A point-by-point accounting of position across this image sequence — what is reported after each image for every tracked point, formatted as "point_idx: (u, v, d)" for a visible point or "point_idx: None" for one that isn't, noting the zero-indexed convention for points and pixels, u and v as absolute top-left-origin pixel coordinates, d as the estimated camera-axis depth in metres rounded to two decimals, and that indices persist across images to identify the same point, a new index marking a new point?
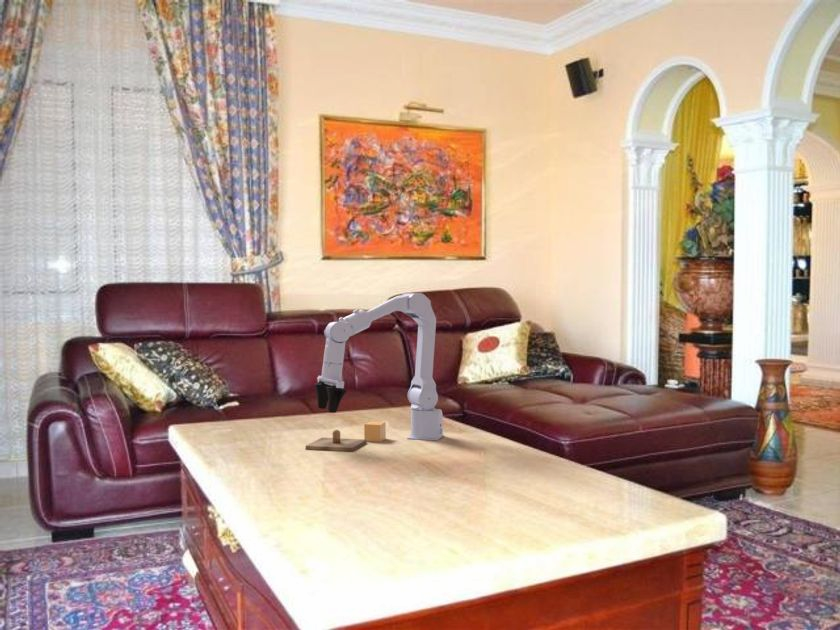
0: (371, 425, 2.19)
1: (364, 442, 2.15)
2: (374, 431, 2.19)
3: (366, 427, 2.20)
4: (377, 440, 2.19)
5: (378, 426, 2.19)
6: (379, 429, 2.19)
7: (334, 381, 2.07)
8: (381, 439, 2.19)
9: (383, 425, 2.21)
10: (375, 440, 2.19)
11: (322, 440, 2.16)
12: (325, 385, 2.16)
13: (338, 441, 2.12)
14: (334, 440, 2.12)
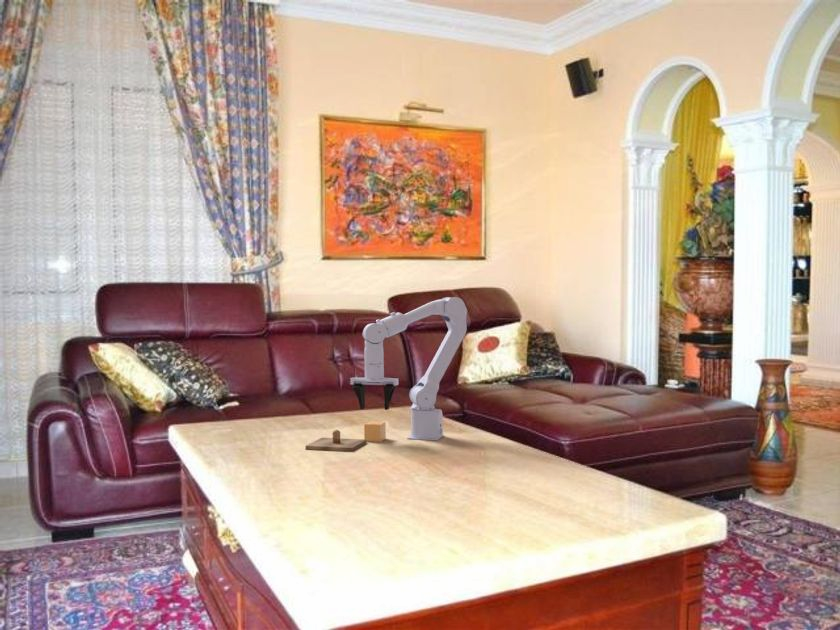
0: (371, 425, 2.19)
1: (364, 442, 2.15)
2: (374, 431, 2.19)
3: (366, 427, 2.20)
4: (377, 440, 2.19)
5: (378, 426, 2.19)
6: (379, 429, 2.19)
7: (390, 380, 2.18)
8: (381, 439, 2.19)
9: (383, 425, 2.21)
10: (375, 440, 2.19)
11: (322, 440, 2.16)
12: (362, 386, 2.22)
13: (338, 441, 2.12)
14: (334, 440, 2.12)
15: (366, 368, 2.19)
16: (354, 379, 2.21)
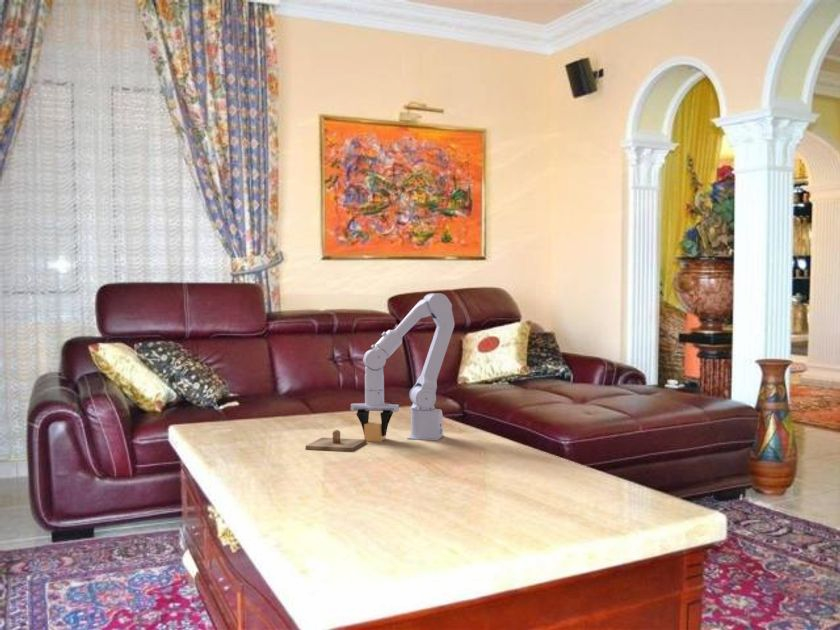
0: (371, 425, 2.19)
1: (364, 442, 2.15)
2: (374, 431, 2.19)
3: (366, 427, 2.20)
4: (377, 440, 2.19)
5: (378, 426, 2.19)
6: (379, 429, 2.19)
7: (390, 406, 2.19)
8: (381, 439, 2.19)
9: None
10: (375, 440, 2.19)
11: (322, 440, 2.16)
12: (366, 412, 2.22)
13: (338, 441, 2.12)
14: (334, 440, 2.12)
15: (366, 394, 2.19)
16: (354, 405, 2.22)
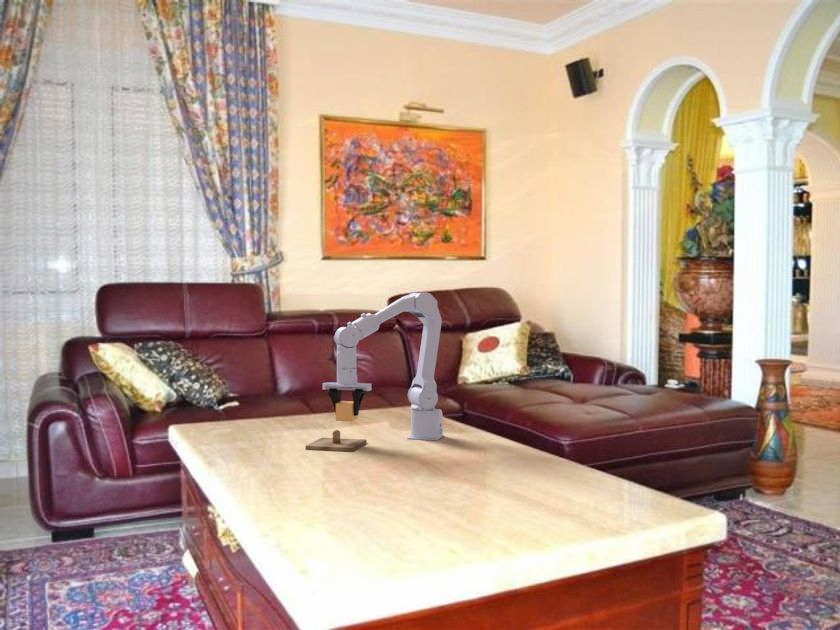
0: (343, 404, 2.13)
1: (364, 442, 2.15)
2: (346, 410, 2.13)
3: (338, 406, 2.13)
4: (349, 420, 2.12)
5: (350, 405, 2.12)
6: (351, 408, 2.12)
7: (363, 385, 2.12)
8: (353, 419, 2.13)
9: None
10: (347, 420, 2.13)
11: (322, 440, 2.16)
12: (338, 391, 2.16)
13: (338, 441, 2.12)
14: (334, 440, 2.12)
15: (338, 373, 2.13)
16: (326, 384, 2.15)
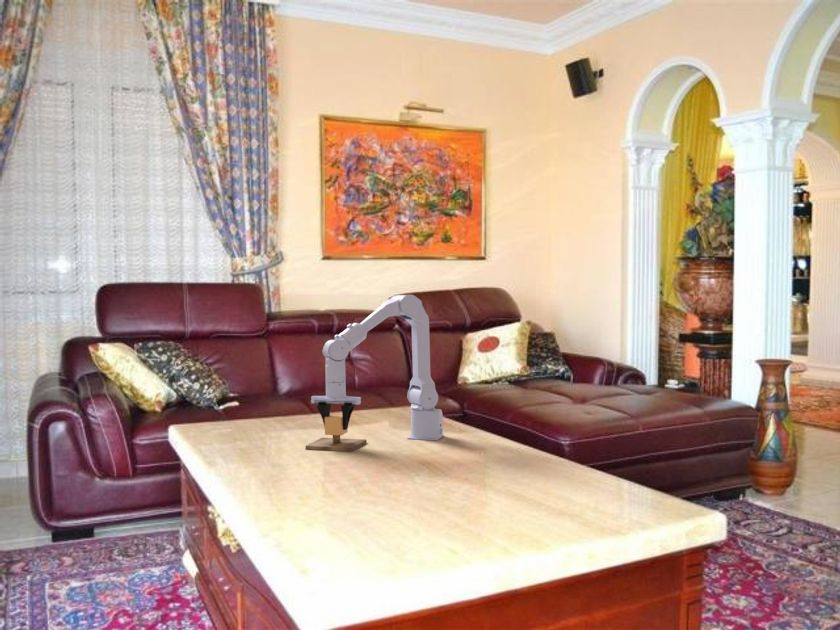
0: (332, 418, 2.10)
1: (364, 442, 2.15)
2: (335, 424, 2.10)
3: (327, 420, 2.11)
4: (338, 434, 2.10)
5: (339, 419, 2.10)
6: (340, 422, 2.10)
7: (352, 399, 2.10)
8: (342, 433, 2.11)
9: None
10: (336, 434, 2.10)
11: (322, 440, 2.16)
12: (327, 404, 2.14)
13: (338, 441, 2.12)
14: (334, 440, 2.12)
15: (327, 386, 2.11)
16: (315, 398, 2.13)
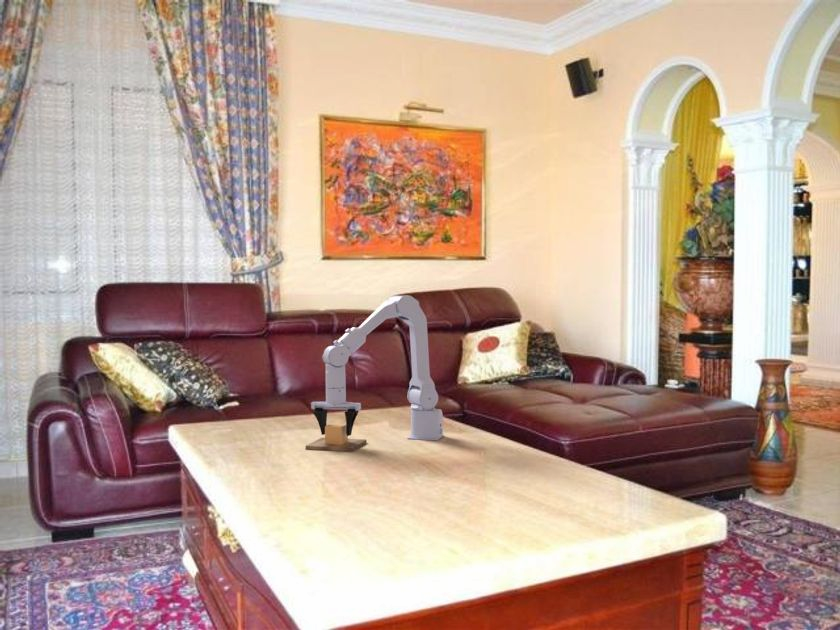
0: (332, 427, 2.11)
1: (364, 442, 2.15)
2: (335, 434, 2.10)
3: (327, 429, 2.11)
4: (338, 443, 2.10)
5: (339, 428, 2.10)
6: (340, 431, 2.10)
7: (352, 405, 2.10)
8: (342, 442, 2.11)
9: (345, 427, 2.13)
10: (336, 443, 2.10)
11: (322, 440, 2.16)
12: (324, 410, 2.14)
13: None
14: None
15: (327, 392, 2.11)
16: (315, 403, 2.13)
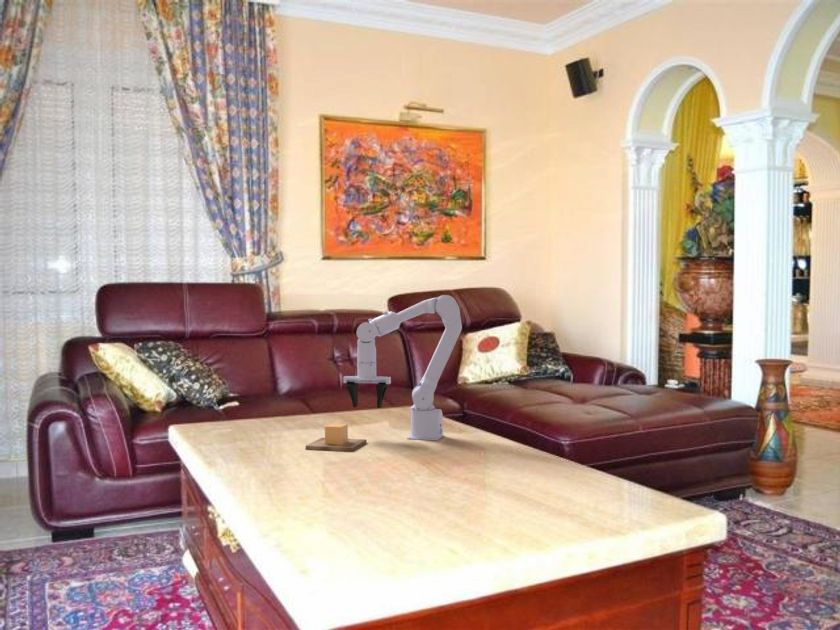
0: (332, 427, 2.11)
1: (364, 442, 2.15)
2: (335, 434, 2.10)
3: (327, 429, 2.11)
4: (338, 443, 2.10)
5: (339, 428, 2.10)
6: (340, 431, 2.10)
7: (382, 378, 2.21)
8: (342, 442, 2.11)
9: (345, 427, 2.13)
10: (336, 443, 2.10)
11: (322, 440, 2.16)
12: (355, 384, 2.25)
13: None
14: None
15: (359, 367, 2.22)
16: (347, 378, 2.24)
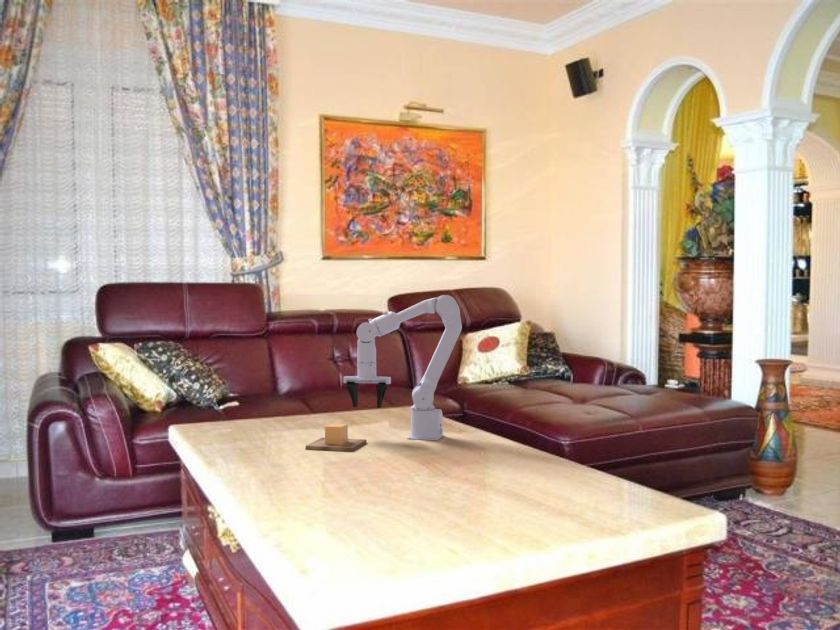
0: (332, 427, 2.11)
1: (364, 442, 2.15)
2: (335, 434, 2.10)
3: (327, 429, 2.11)
4: (338, 443, 2.10)
5: (339, 428, 2.10)
6: (340, 431, 2.10)
7: (382, 378, 2.21)
8: (342, 442, 2.11)
9: (345, 427, 2.13)
10: (336, 443, 2.10)
11: (322, 440, 2.16)
12: (355, 384, 2.25)
13: None
14: None
15: (359, 367, 2.22)
16: (347, 378, 2.24)
